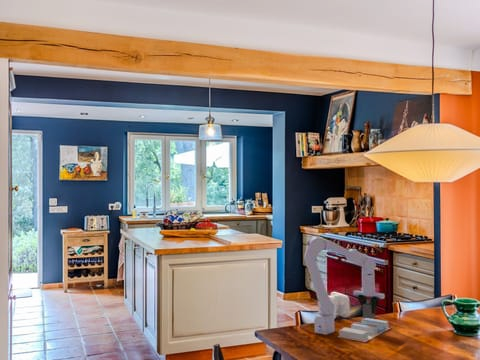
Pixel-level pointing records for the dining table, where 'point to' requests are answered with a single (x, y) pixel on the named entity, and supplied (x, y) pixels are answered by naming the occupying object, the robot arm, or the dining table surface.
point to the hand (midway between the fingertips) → (369, 312)
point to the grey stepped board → (364, 329)
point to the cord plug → (368, 309)
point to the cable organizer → (340, 304)
